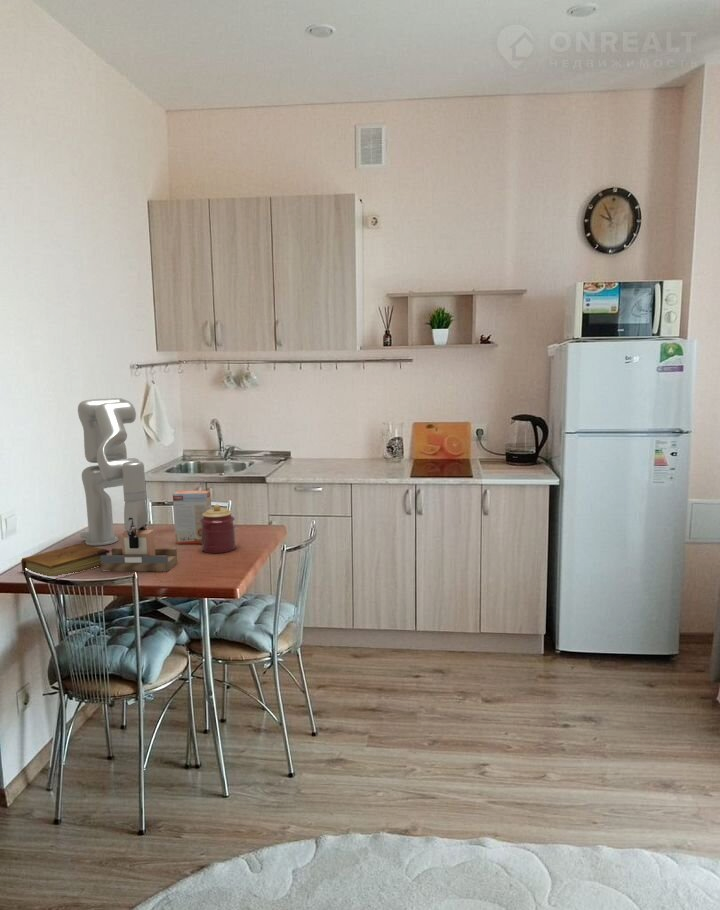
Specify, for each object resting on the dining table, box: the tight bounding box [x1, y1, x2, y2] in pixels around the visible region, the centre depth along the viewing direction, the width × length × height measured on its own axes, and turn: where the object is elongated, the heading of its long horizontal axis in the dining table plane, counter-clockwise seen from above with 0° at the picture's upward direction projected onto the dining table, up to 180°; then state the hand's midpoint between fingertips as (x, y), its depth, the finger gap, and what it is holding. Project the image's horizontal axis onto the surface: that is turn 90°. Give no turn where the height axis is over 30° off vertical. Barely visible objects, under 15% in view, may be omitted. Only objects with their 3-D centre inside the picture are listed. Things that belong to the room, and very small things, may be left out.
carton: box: [120, 529, 156, 555], centre depth 257 cm, size 5×10×10 cm, turn 84°
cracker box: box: [172, 490, 212, 545], centre depth 290 cm, size 14×6×21 cm, turn 84°
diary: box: [20, 543, 110, 576], centre depth 260 cm, size 23×19×6 cm
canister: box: [200, 504, 237, 554], centre depth 279 cm, size 13×13×18 cm
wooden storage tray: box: [100, 547, 178, 573], centre depth 258 cm, size 24×11×6 cm, turn 85°
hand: (138, 544), depth 257 cm, fingers open, 6 cm apart
